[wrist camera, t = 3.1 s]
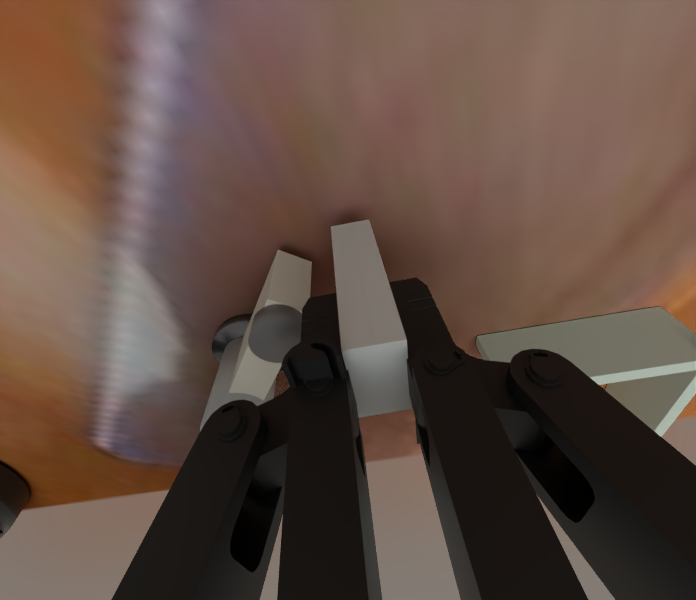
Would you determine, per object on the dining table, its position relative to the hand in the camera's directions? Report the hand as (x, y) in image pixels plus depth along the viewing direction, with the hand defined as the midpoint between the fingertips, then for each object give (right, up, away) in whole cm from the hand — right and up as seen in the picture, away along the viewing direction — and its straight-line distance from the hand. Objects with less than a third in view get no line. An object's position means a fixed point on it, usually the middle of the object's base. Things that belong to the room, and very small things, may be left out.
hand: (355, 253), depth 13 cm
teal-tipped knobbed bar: (-6, -6, +6) cm, 11 cm away
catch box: (+14, -7, +10) cm, 18 cm away
